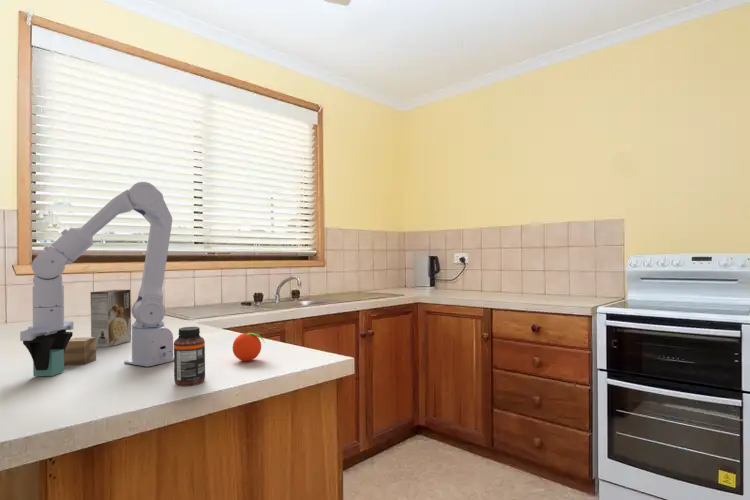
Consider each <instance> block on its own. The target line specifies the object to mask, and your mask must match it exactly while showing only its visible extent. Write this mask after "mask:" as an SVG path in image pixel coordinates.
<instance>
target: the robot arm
mask: <svg viewBox="0 0 750 500" xmlns="http://www.w3.org/2000/svg"><path fill="white" fill-rule="evenodd" d="M132 211H135V212H137V213H139V214H140V215H142V217H143V218H144V219H145V220H146V221H147V222H148V223H149V225H150V227H149V233H148V239H147V245H146V247H147V248H146V254H145V258H144V259H145V260H144V264H143V265H144V266H143V272H142V279H141V284H140V287H139V291H138V295H137V298H136V300H135V302H133V305H132V306H131V316H132V317H133V318H134V319H135V321H134V322H133V323H131V359H126V360H124V361H123V363H124V364H129V365H135V366H141V367H145V368H146V367H148V368H149V367H154V366H156V365H161V364H165V363H169V362H174V334H173V333H172V331H171V330H170V328H167V327H166V326H165V321H163V320H164V318H165V314H166V309H165V306H164V304H163V303H164V292H163V286H164V285H163V284H164V278H165V272H166V271H165V270H166V266H167V260H168V252H169V246H170V240H171V232H172V226H173V225H172V224H173V217H172V214H171V212H170V210H169V208H168V205H167V204H166V202H165V200H164V196H163V193H162V192H161V191H160V189H158V188H157V187H156V186H154V184H152V183H151V182H147V181H138V182H136V183H134V184H133V185H132V186H131V188H128V189H126V190H124V191H122V192H121V193H120V194H118V195H116V196H115V197H113V198H112V199H111V200H110V201H109V202H108V203H107V204H105V205H104V206H103V207H102V208H101V209H100V210H99V211H98V212H97V213H96V214H94V215H93V216H92V217H91V218H90V219H89V220H87V222H86V223H84V224H83V225H82V226H81V227H80V226H79V227H78V226H75V227H74V226H72V227H70V228H69V229H68V230H67V229H63V230H62V231H61V233H60V234H61V236H59V238H57V239H56V240H54V242H53V243H52V244H51V245H49V246H48V245H46V246H45V247H43V250H44V252H40V253H38V254H37V256H35V257H34V259H33V260H32V262H31V270H32V271H33V273H34V274H35V275H34V276H33V278H32V283H33V286H32V288H31V289H32V326H27V329H25V330H22V331H20V332H19V334H20V335H19V337H20V338H19V339H20V340H19V341H21V342H22V344H23V346H25V348H26V350H27V351H28V353H29V355H30V356H31V359H32V362H34V365H35V368H36V370H47V369H48V365H49V357H50V351H51V350H54V349H64V352H65V349H66V346H67V344H68V342H69V340H70V339H72V337H73V336H74V335H73V334H74V333H73V331H72V330H74V321H71V320H70V321H69V320H68V321H65V285H64V284H63V273H64V271H65V268H66V265H72V264H73V263H74V262H75V261H76V260H77V259H78V258H80V257H81V256H82V255H83V254H84V253H85V252H86V251H87V250H88V249H90V248H91V247H92V246H93V243H94V241H93V240H94V238H93V237H94V236H95V235H96V234H97V233H98V232H99V231H100V230H102V229H103V228H104V227H105V226H106V225H109V223H110V222H111V221H112V220H114V219H115V218H116V217H117V216H119V215H121V214H125V213H130V212H132Z"/></svg>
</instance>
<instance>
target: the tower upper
mask: <svg viewBox="0 0 750 500" xmlns="http://www.w3.org/2000/svg"><path fill="white" fill-rule="evenodd" d="M94 349H96V350H97V346H96V337H91V336H87V337H81V336H80V337H74V338H72V337H71V339H70V340H69V342H68V344H67V346H66V349H65V352H64V354H73V353H86V352H89V351H92V350H94Z"/></svg>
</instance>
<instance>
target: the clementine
mask: <svg viewBox="0 0 750 500" xmlns="http://www.w3.org/2000/svg"><path fill="white" fill-rule="evenodd" d="M261 340H262V341H263V342H265V340H264V338H263V337H262V336H261V335H260V334H258V333H254V332H248V331H246V332H245V333H240V334H239V335H238V336H237V337H236V338H235V339H234V340H233V343H232V353H233V355H234V356H235V357H236V359H238V360H240V361H242V362H251V361H253V360H255V359H256V358H257V357H258V356H259V355H260V353H261V351H262V342H261Z"/></svg>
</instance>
